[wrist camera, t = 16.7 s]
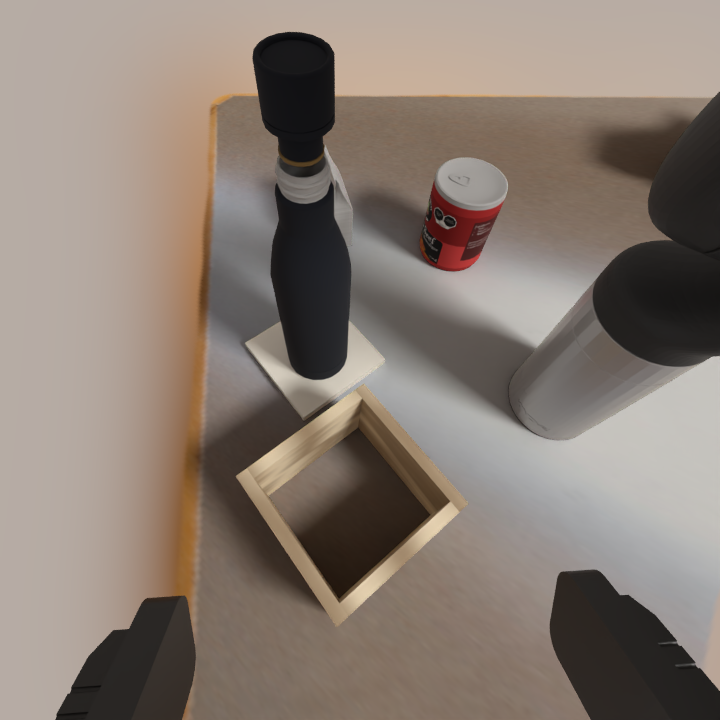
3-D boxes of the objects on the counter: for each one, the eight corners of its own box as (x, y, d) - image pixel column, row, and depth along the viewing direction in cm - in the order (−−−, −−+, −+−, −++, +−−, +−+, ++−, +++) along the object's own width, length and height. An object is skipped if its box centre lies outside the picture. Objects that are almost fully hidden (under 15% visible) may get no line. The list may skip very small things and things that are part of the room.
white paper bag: (339, 208, 58) (339, 142, 49) (351, 245, 55) (354, 182, 46) (312, 212, 58) (308, 146, 49) (323, 250, 55) (321, 186, 46)
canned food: (418, 225, 57) (435, 153, 48) (477, 230, 57) (505, 159, 48) (417, 270, 54) (435, 202, 44) (480, 275, 54) (512, 209, 44)
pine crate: (359, 414, 45) (363, 383, 38) (445, 516, 40) (468, 503, 33) (253, 494, 40) (235, 476, 33) (336, 617, 36) (336, 627, 29)
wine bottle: (276, 354, 46) (194, 49, 20) (318, 319, 49) (296, 3, 22) (317, 392, 44) (290, 112, 18) (359, 353, 47) (389, 55, 20)
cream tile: (325, 298, 51) (325, 293, 50) (384, 363, 48) (385, 359, 47) (246, 347, 48) (244, 343, 47) (303, 421, 44) (303, 417, 43)
